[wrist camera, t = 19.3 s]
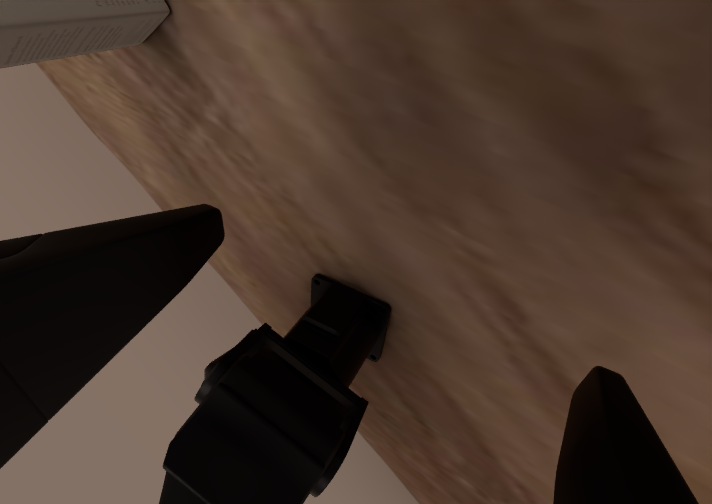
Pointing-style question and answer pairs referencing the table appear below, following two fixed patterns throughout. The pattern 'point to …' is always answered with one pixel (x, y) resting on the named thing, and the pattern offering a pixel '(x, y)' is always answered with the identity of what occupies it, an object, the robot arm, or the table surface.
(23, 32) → the cosmetic box
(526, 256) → the table surface
